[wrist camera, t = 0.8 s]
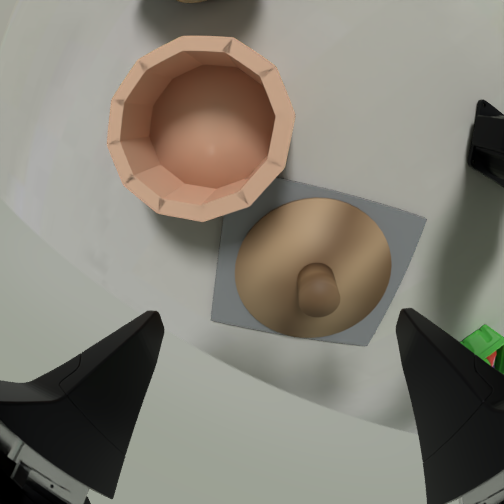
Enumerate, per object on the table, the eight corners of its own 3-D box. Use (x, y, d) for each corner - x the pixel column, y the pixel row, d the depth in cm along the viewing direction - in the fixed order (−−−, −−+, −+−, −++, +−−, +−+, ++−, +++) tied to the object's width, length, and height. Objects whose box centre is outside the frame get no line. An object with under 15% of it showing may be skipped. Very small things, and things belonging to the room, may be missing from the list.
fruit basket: (490, 357, 26) (518, 410, 16) (445, 387, 29) (466, 445, 19) (492, 311, 22) (534, 374, 12) (437, 348, 25) (469, 422, 15)
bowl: (301, 67, 15) (308, 48, 11) (272, 209, 20) (270, 235, 16) (155, 54, 16) (122, 40, 11) (138, 186, 20) (105, 204, 16)
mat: (424, 217, 19) (426, 219, 19) (366, 342, 25) (367, 346, 25) (232, 168, 19) (230, 170, 19) (211, 317, 26) (210, 320, 25)
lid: (410, 220, 19) (431, 238, 16) (356, 341, 25) (363, 367, 22) (250, 180, 19) (244, 192, 16) (226, 319, 25) (219, 346, 22)
